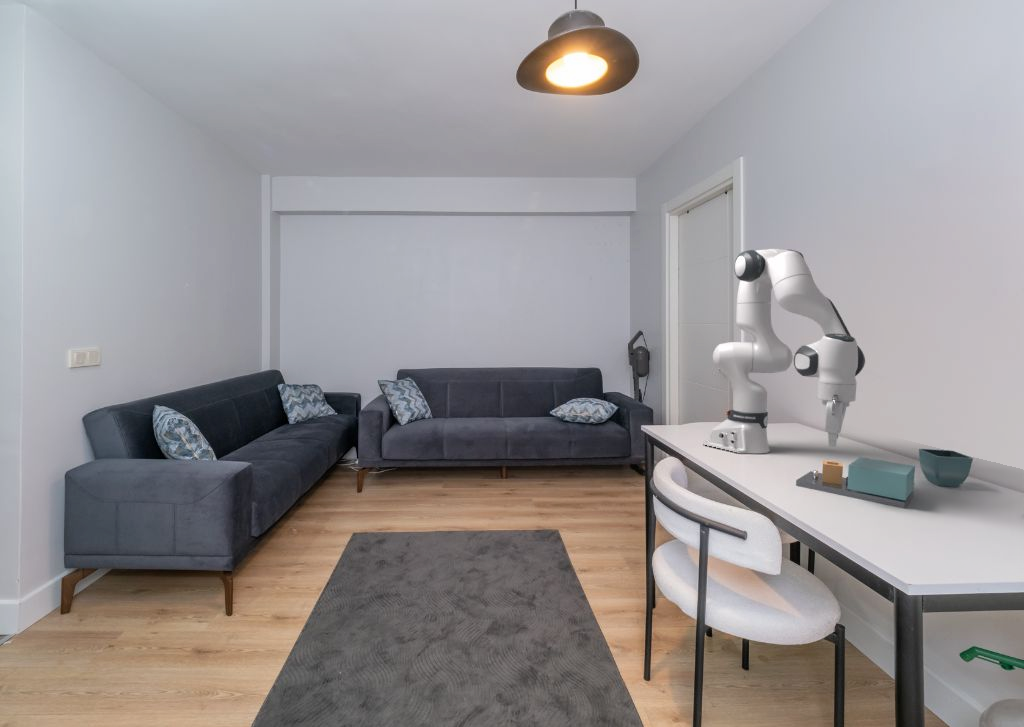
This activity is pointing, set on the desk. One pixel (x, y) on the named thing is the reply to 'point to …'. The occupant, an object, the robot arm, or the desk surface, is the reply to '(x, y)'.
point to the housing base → (846, 490)
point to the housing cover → (881, 478)
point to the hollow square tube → (832, 472)
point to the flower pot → (945, 466)
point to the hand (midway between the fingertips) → (833, 442)
